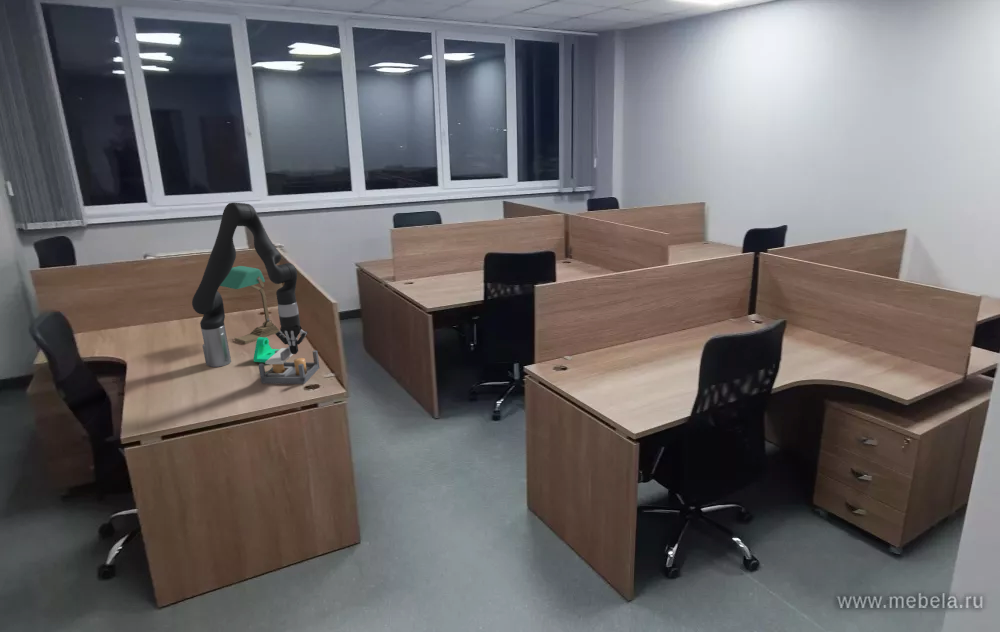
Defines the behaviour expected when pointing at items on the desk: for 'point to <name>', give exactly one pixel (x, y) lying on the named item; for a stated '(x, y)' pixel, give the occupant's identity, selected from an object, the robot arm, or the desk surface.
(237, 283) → the banker's lamp
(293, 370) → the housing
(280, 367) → the tan egg
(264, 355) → the camera mount
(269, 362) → the lid
